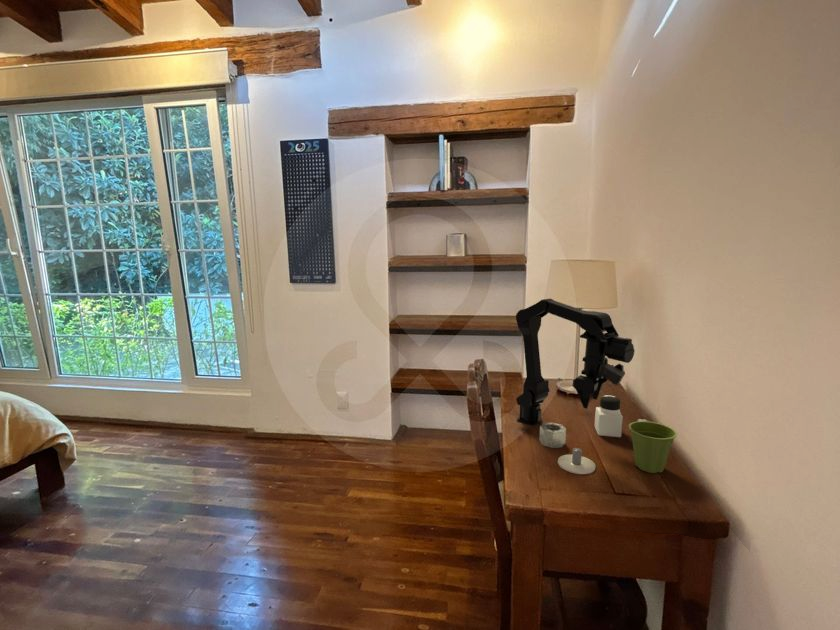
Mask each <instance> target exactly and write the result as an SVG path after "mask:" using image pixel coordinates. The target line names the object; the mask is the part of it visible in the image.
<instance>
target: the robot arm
mask: <svg viewBox="0 0 840 630" xmlns="http://www.w3.org/2000/svg"><path fill="white" fill-rule="evenodd" d="M548 314H551V315H553V316H556V317H559V318H561V319H564V320H567V321H570V322H573V323H574V324H576V325H578V327H580V328H581V329H582V330H584V332H583V333H582V334H580V335H579V338H581V339H586V342H585V353H584V356H583V357H582V362H584V363H583V369H582V370H581V373H580V375H579V376H577V377H575V378H574V379H573V380H572V388H573V389H574V390H576V392H577V395H578V398H579V400H580V402H581V405H582V407H583V409H585V410H586V409H588V407H589V406H590V405H589V404H590V400H591V397H592V399H593V400H598V398H599V395H600V392H601V390H602V387H603V385H604V383H606V382H611V384H613V385H615V386H619V384H620V383H621V382H622V380H623V379H624V377H625V375H626V373H625V372H626V371H625V370H624V365H623V364H622V363H627V364H629V363H630V362H631V361H632V360H633V359H634V355H635V351H636V350H635V346H634V344H633V343H632V342H633V341H632V340H633V339H632V338H628V337H627V338H626V337H625V338H624V337H621V336H620V335H619V333H618V331H617V329H616V327H615V326H614V324H613V320H612V317H611V316H610V314H608V313H606V312H604V311H603V312H602V311H594V310H593V311H592V310H591V311H589V310H583V309H581V308H578V307H574V306H571V305H568V304H566V303H563V302H559V301H557V300H554V299H552V298H544V299H541V300H539V301H537V302H536V303H534V304H533V305H530V306H528V307H526V308H522V309H519V310H518V311H517V313H516V314H515V320H516V325H517V328H518V330H519V331H520V334H522V338H523V339H522V340H523V351H524V352H523V353H524V360H525V370H526V377H525V380H524V383H523V387H522V393H521V394H520V395H519V396H518V397H516V404H517V405H518V406H519V417H518V418H516V420H517V421H518V422H521V423H524V424H527V425H531V426H536V424H538V423H539V422H541V421H542V409H541V404H544V402H545V399H546V398H548V397H549V393H550V392H551V391H550V387H549V380H548V379H546V380H545V379H544V377H543V376H542V369H541V368H542V367H541V356H540V346H539V345H540V343H539V332H540V328H541V326H542V319H543V318H544V317H545V316H547V315H548ZM608 359H610V360H613V361H618V362H622V363H617V364H616V365H614V364H610V363H608V362H609V360H608Z"/></svg>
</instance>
